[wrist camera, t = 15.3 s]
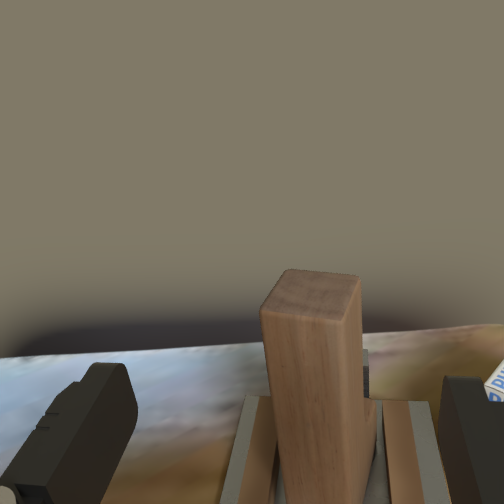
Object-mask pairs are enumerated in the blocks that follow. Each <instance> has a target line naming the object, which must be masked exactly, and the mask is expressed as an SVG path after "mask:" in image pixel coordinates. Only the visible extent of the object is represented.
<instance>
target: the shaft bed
mask: <svg viewBox="0 0 504 504" xmlns="http://www.w3.org/2000/svg"><path fill="white" fill-rule="evenodd" d="M363 392H364V397H365V398H369V364H368V350H367V349H363ZM258 401H259V396H245V400H244V404H243V409H242V413H241V417H240V421H239V425H238V429H237V433H236V437H235V442H234V446H233V450H232V454H231V458H230V462H229V466H228V470H227V475H226V479H225V483H224V487H223V491H222V495H221V499H220V503H219V504H237V503H238V498H239V493H240V488H241V483H242V479H243V474H244V469H245V464H246V459H247V454H248V450H249V445H250V440H251V435H252V430H253V425H254V421H255V416H256V411H257V406H258ZM375 402H376V405H377V442H376V446H375V451H374V455H373V460H372V464H371V469H370V473H369V478H368V482H367V487H366V491H365V496H364V500H363V504H390V503H389V492H388V482H387V471H386V460H385V450H384V439H383V428H382V400H375ZM408 403H409V409H410V416H411V422H412V428H413V434H414V440H415V446H416V452H417V458H418V465H419V471H420V477H421V483H422V489H423V495H424V501H425V504H450V501H449V497H448V492H447V487H446V482H445V478H444V473H443V468H442V464H441V459H440V454H439V450H438V445H437V440H436V435H435V431H434V426H433V421H432V417H431V412H430V407H429V403H428V401H408ZM274 504H286V499H285V491H284V484H283V478H282V471H281V464H280V465H279V473H278V480H277V488H276V495H275V503H274Z"/></svg>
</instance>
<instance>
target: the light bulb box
mask: <svg viewBox="0 0 504 504" xmlns="http://www.w3.org/2000/svg"><path fill="white" fill-rule="evenodd" d="M484 388H485V390H486V393H487V396H488V399H489V401H500V402H504V359H503V361H502V362H501V363H500V364H499V366H498V367H497V368H496V370H495V371H494V372H493V373H492V375H491V376H490V377H489V378H488V380H487V381H486V382H485V384H484Z"/></svg>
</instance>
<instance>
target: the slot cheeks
mask: <svg viewBox="0 0 504 504" xmlns="http://www.w3.org/2000/svg"><path fill="white" fill-rule="evenodd" d="M382 428H383V439H384V450H385V460H386V471H387V482H388V492H389V503H390V504H425V501H424V495H423V489H422V483H421V477H420V471H419V465H418V458H417V452H416V446H415V440H414V434H413V428H412V422H411V416H410V409H409V403H408V401H399V400H382ZM279 465H280V457H279V450H278V443H277V436H276V429H275V422H274V415H273V408H272V401H271V397H270V396H259V401H258V406H257V411H256V416H255V421H254V425H253V430H252V435H251V440H250V445H249V450H248V454H247V459H246V464H245V469H244V474H243V479H242V483H241V488H240V493H239V498H238V503H237V504H274V503H275V495H276V488H277V480H278V473H279Z"/></svg>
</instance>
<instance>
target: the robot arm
mask: <svg viewBox="0 0 504 504" xmlns="http://www.w3.org/2000/svg"><path fill="white" fill-rule="evenodd" d="M137 417H138V406H137V401H136V398H135V395H134V392H133V388H132V385H131V382H130V379H129V375H128V372H127V369H126V367H125V365H124V364H122V363H99V362H96V363H93V364H92V365H91V366H90V367H89V369H88V370H87V372H86V374H85V375H84V377H83V378H82V380H81V381H80V382H73V383H71V384H70V385H69V386H68V387H67V388H65V389H64V390H63V391H62V392H61V393H59V394H58V395H57V396H56V398H55V399H54V400H53V402H52V403H51V405H50V406H49V408H48V409H47V411H46V412H45V416H42V418H41V419H40V421H39V422H38V424H37V425H36V429H35V430H33V431H32V432H31V434H30V435H29V437H28V438H27V440H26V441H25V443H24V444H23V446H22V447H21V448H20V450H19V451H18V453H17V454H16V456H15V457H14V459H13V460H12V462H11V463H10V464H9V466H8V467H7V469H6V470H5V472H4V473H3V475H2V476H1V477H0V504H100V502H101V500H102V498H103V496H104V494H105V492H106V489H107V487H108V485H109V483H110V481H111V479H112V476H113V474H114V472H115V470H116V468H117V466H118V463H119V461H120V459H121V457H122V455H123V453H124V451H125V448H126V446H127V444H128V442H129V440H130V438H131V435H132V433H133V431H134V429H135V426H136V423H137ZM438 436H439V445H440V451H441V455H442V460H443V465H444V469H445V474H446V479H447V483H448V488H449V493H450V497H451V502H452V504H504V402H500V401H489V399H488V396H487V393H486V390H485V388H484V385H483V382H482V380H481V378H480V377H466V376H445V377H444V379H443V386H442V395H441V403H440V411H439V419H438Z"/></svg>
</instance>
